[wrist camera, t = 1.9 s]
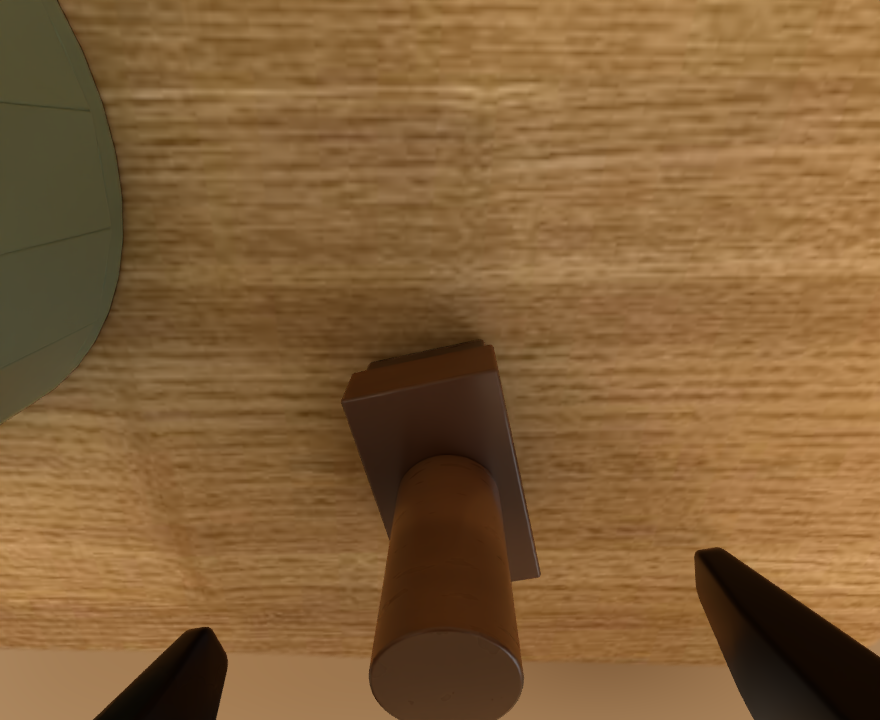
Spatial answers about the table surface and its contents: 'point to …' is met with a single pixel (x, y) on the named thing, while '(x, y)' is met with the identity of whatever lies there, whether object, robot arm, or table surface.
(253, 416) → the table surface
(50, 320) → the bowl
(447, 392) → the stamp
